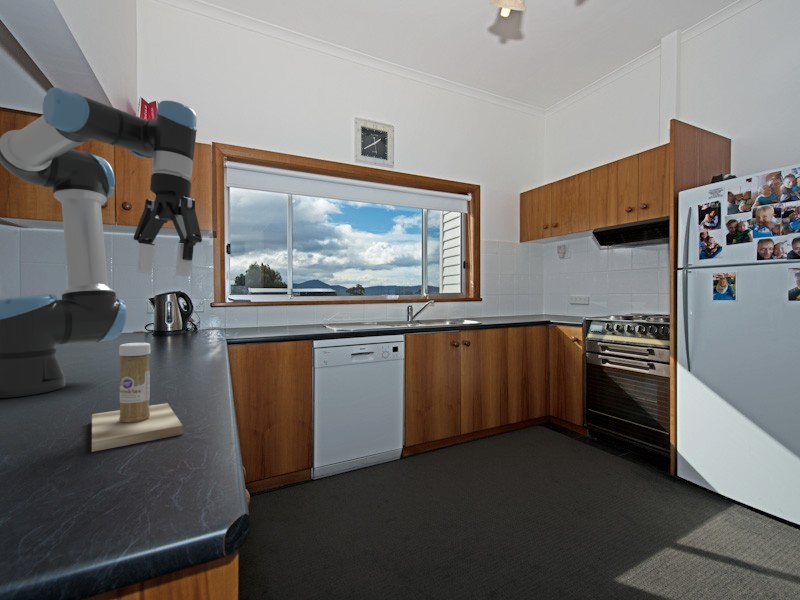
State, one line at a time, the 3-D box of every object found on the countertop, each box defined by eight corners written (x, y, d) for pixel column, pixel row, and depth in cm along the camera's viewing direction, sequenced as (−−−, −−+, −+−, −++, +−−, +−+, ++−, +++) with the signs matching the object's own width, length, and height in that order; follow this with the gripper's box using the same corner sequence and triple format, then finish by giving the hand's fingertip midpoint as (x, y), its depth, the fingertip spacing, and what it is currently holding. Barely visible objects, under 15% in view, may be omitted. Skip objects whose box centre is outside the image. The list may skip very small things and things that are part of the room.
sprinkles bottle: (114, 424, 65) (114, 345, 65) (125, 416, 70) (125, 342, 69) (145, 422, 67) (145, 344, 66) (154, 414, 71) (153, 341, 71)
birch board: (92, 422, 71) (92, 414, 71) (167, 410, 78) (167, 403, 78) (91, 451, 58) (91, 441, 58) (182, 434, 65) (182, 425, 65)
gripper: (225, 179, 81) (216, 278, 81) (155, 186, 92) (147, 273, 92) (192, 166, 74) (182, 275, 74) (120, 175, 86) (112, 270, 86)
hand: (163, 274), depth 83 cm, fingers open, 13 cm apart
